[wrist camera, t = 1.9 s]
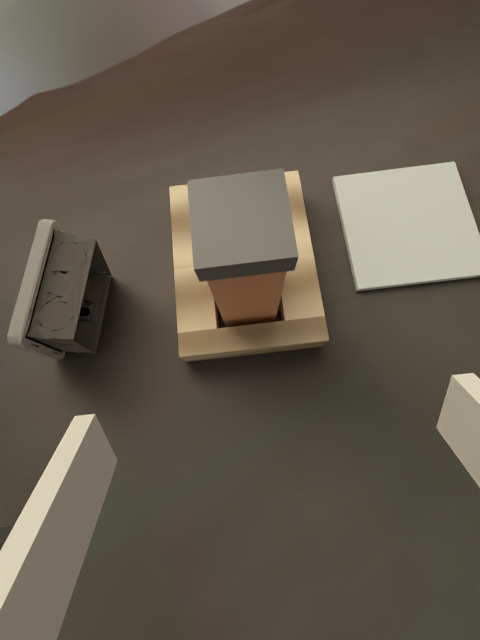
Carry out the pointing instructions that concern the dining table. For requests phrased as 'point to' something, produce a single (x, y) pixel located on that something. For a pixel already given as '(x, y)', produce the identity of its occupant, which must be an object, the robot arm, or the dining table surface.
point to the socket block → (288, 334)
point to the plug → (243, 242)
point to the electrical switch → (60, 295)
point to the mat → (407, 226)
